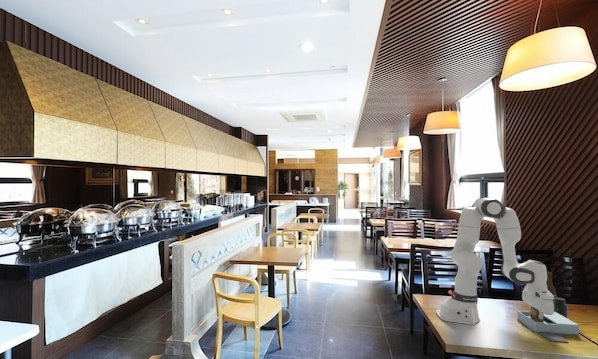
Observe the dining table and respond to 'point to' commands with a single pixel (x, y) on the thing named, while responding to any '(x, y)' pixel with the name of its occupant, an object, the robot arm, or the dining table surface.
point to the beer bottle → (550, 284)
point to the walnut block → (535, 315)
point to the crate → (549, 324)
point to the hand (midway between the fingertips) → (536, 316)
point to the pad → (553, 337)
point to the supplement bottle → (560, 307)
